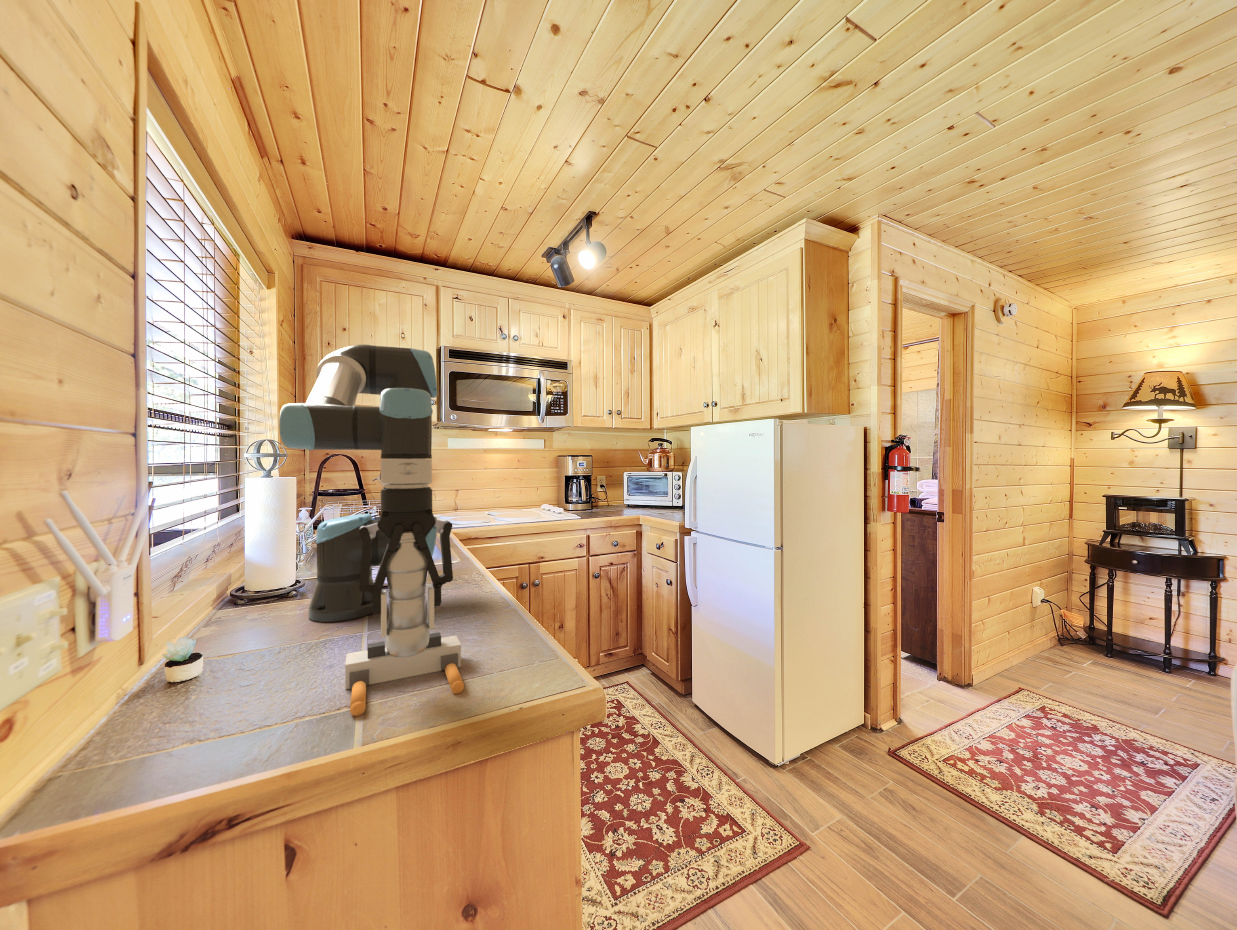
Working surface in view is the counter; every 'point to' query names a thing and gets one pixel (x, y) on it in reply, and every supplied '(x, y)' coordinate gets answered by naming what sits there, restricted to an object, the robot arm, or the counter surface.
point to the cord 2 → (454, 678)
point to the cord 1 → (358, 698)
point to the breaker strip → (400, 661)
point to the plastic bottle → (407, 599)
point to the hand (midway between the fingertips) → (407, 629)
